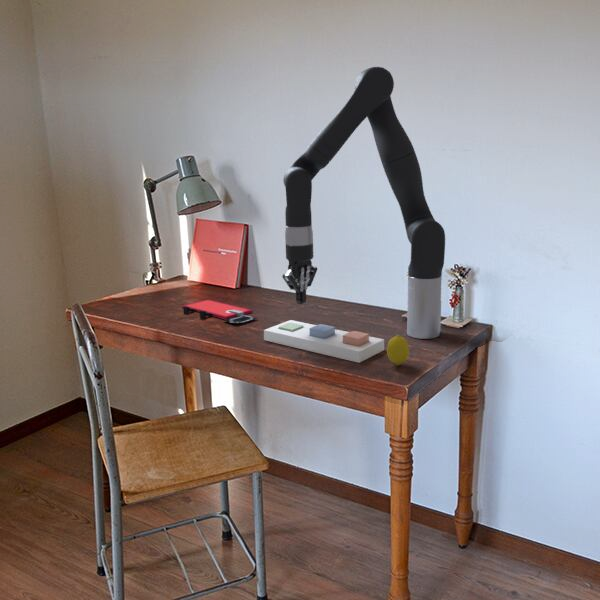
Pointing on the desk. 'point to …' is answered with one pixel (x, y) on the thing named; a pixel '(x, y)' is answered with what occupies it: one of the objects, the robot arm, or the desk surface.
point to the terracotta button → (356, 338)
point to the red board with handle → (219, 311)
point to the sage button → (291, 327)
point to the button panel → (323, 342)
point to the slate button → (322, 331)
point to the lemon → (398, 350)
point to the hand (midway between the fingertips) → (301, 303)
